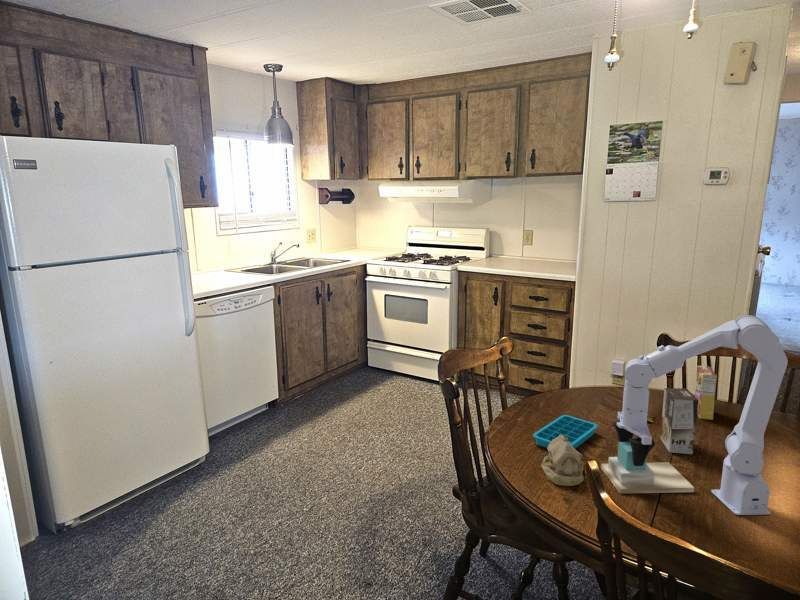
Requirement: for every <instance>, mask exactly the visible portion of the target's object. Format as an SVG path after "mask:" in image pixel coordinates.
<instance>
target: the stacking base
mask: <svg viewBox="0 0 800 600" xmlns="http://www.w3.org/2000/svg"><path fill="white" fill-rule="evenodd" d="M617 458H618V456H609V457H608V460H607V463H600V468H601V470H602V471H603V473H604V474H605V476H606V477H607V478H608V479H609V481H610V482H611V483H612V484H613V486H614V488H615V489H616V490H617V491H618V493H619V494H659V493H662V494H663V493H664V494H665V493H666V494H667V493H695V486H694V485H692V484H691V483H690V482H689V481H688V480H687V478H685V477H684V476H683V475H682V474H681V473H680V472H679V471H678V470H677V469H676V468H675V467H674V466H673V465H672V464H671V463H670V462H669V461H667V462H664V461H662V462H661V461H660V462H647V463H646V470H625V468H624V467H623V466H622V465H621V464H620V462H619V461H618V460H617Z"/></svg>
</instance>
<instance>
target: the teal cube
mask: <svg viewBox="0 0 800 600" xmlns="http://www.w3.org/2000/svg"><path fill="white" fill-rule="evenodd" d="M617 447H618V448H617V457H618V458H617V460H618V461H619V462H620V464H621V465H622V466H623V467H624V468H625V470H646V463H648V462H647V461H648V456H647V457H646V460H645V462H644V464H643V466H634V464H633V454H632V447H631V444H630V442H619V441H618V446H617Z"/></svg>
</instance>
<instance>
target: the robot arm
mask: <svg viewBox="0 0 800 600" xmlns="http://www.w3.org/2000/svg"><path fill="white" fill-rule="evenodd" d="M738 345H740V346H741V347H742V348H743V349H744V350H745V351H747V352H749V353H750V354H752V355H753V356H754V358H755V359H756V360H757V364H756V365H757V366H756V368H755V372H754V374H753V377H752V381H751V383H750V386H749V391H748V394H747V397H746V398H745V399H746V400H745V402H744V406H743V409H742V412H741V415H740V419H739V421H738V422H737V424H736V425H735V426H734V427H733V430H732V432H731V433H730V434H728V435H727V437H726V438H725V441H724V446H725V449H726V451H727V453H728V454H727V455H726V456H725V458H724V459H723V463H722V464H723V465H722V470H721V471H722V474H721V481H720V489H711V491H710V492H711V494H713V495H714V496H715V497H716V498H717V499H719V501H720V502H721V503H723V504H724V505H725V506H726V507H727V508H728V509H729V510H730V511H731V512H732V513H733V514H734V515H737V516H755V515H757V516H758V515H760V516H762V515H767V516H768V515H771V511H770V510H769V509H768V506H769V499H770V492H771V491H770V490H771V489H770V486H769V484H768V483H767V482H766V481H765V479H764V478H763V476H762V469H763V468H764V465H765V461H764V457H763V452H764V449H765V448H764V447H765V442H764V441H765V440H764V439H765V438H764V437H765V436H764V435H765V432H766V430H767V426H768V423H769V420H770V417H771V414H772V410H773V409H774V405H775V403H776V399H777V396H778V395H779V391H780V388H781V384H782V382H783V380H784V376H785V372H786V369H787V366H788V361H789V360H788V357H787V355H786V353H785V351H784V349H783V346H782V343H781V342H780V338H779V337H778V335H776V334H775V333H774V331H772V329H771V328H770V327H769V326H768V325H767V324H766V323H765V322H764V321H763V320H762V319H761V318H760V317H758V316H756V315H752V314H751V315H749V314H748V315H747V314H746V315H743V316H740V317H738V318H736V319H732V320H728V321H726V322H725V323H722V324H721V325H719V326H717V327H715V328H713V329H711V330H709V331H707V332H705V333H703V334H701V335H699V336H697V337H695V338H693V339H691V340H689V341H687V342H685V343H683V344H681V345H679V346H675V345H672V344H668V345H666V346H664V345H663V344H662V345H660V346H657V350H655V351H653V352H651V353H647V354H646V355H643V354H641V355H639V356H638V358H632V359H630V360H629V361H627V363H626V365H625V366H624V377H625V380H624V387H623V394H622V395H623V397H622V411H617V416H616V419H618V421H613V423H612V425H613V428H614V429H615V431H616V435H617V439H618V443H619V442H630V444H631V447H632V454H633V464H634V466H643V464H644V462H645V460H646V457H647V458H648V455H649V453H650V451H651V450H652V449H653V448H654V447H655V445H656V442H655V441H654V439H653V436H652V435H651V434H650V430H649V427H648V421H647V415H649V414H648V413H649V400H650V389H649V385H650V384H651V383H652V380H653V379H657V378H660V377H661V376H665V375H666V374H670V373H671V372H674V371H676V370H678V369H681V368H683V367H684V363H685V361H686V360H688V359H691V358H693V357H696V356H698V355H701V354H703V353H706V352H709V351H713V350H715V349H717V348H719V347H723V348H728V349H734V350H738V349H739V347H738ZM634 435H635V436H637V438H636V437H635V438H634V437H633V436H634Z"/></svg>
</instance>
